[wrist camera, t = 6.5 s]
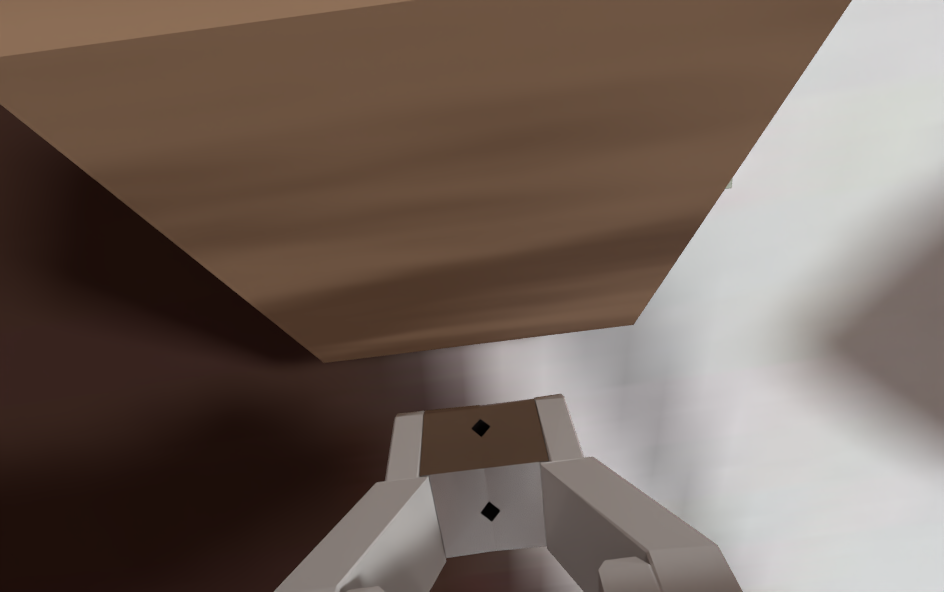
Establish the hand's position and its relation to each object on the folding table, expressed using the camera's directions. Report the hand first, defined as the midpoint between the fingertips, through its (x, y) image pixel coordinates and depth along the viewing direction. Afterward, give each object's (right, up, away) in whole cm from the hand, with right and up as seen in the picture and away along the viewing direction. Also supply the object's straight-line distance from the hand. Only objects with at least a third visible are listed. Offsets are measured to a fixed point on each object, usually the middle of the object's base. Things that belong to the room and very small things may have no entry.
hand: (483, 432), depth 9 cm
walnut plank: (0, +3, +8) cm, 8 cm away
